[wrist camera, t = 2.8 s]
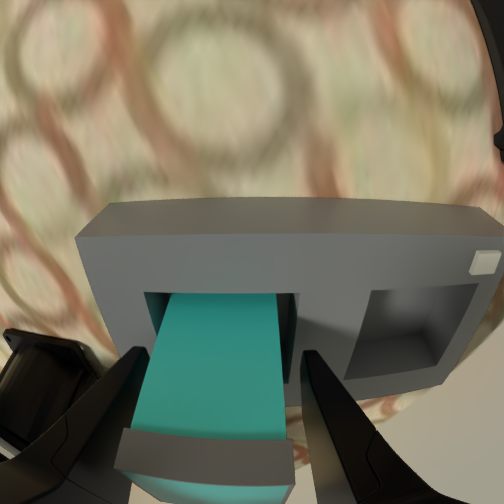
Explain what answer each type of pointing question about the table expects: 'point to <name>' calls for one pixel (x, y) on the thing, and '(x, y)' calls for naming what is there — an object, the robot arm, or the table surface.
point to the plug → (212, 406)
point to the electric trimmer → (494, 48)
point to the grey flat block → (308, 278)
